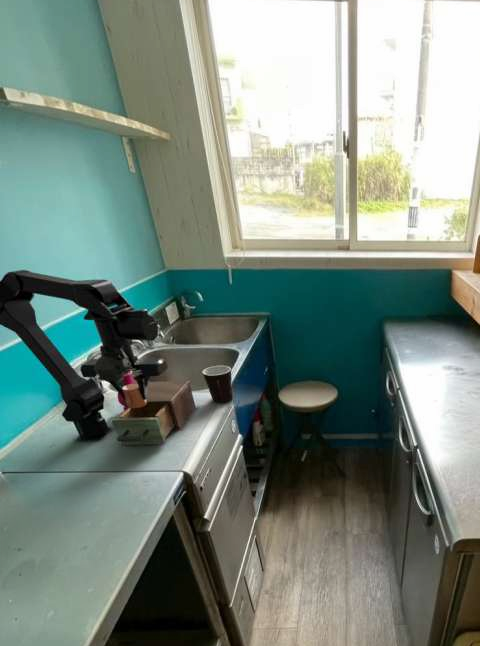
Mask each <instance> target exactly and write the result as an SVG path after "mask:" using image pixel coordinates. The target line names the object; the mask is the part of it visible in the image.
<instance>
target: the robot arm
mask: <svg viewBox="0 0 480 646" xmlns="http://www.w3.org/2000/svg"><path fill="white" fill-rule="evenodd" d="M35 295H40V296H45V297H52V298H56V299H62V300H65V301H66V300H67V301H70V302H73V303H74V304H75V305H76V306H78V307H80V308H82V309H85V310H87V312H86V314H85V315H84V316H83V320H85V321H93V323H94V326H95V328H96V331H97V334H98V336H99V339H100V342H101V346H99V351H100V357H98V358H91V359H89V360H88V361H85V362H84V363H82V364H81V365H80V369H79V370H80V373H81V375H79V374H78V372H77V371H76V369H74V368H73V366H72V365H71V364H70V363H69V361H68V360H67V359H66V358H65V357H64V355H63V354H62V353H61V352H60V350H59V349H58V348H57V346H56V345H55V344H54V343H53V342H52V340H51V339H50V338H49V336H48V335H47V334H46V333H45V332H44V330H43V329H42V327H41V326H40V325H39V324H38V322H37V317H36V316H37V315H36V310H35V308H34V306H33V305H32V304H31V302H32V301H33V300H34V298H35ZM0 326H2V327H4V328H6V329H8V330H10V331H11V332H13V333H14V334H16V335H17V336H18V337H19V339H20V340H21V341H22V342H23V344H24V345H25V346H26V347H27V348H28V349H29V350H30V352H31V353H32V354H33V355H34V356H35V358H36V360H38V361H39V363H40V364H41V365H42V366H43V367H44V368H45V370H46V371H47V372H48V373H49V374H50V376H51V377H52V378H53V380H55V382H56V383H57V384H58V385H59V388H60V395H61V398H62V400H63V401H64V403H65V405H66V406H65V408H64V409H63V411H62V412H61V416H62V417H63V418H64V420H65V421H66V422H69V423H70V422H71V423H73V425H74V427H75V429H76V432H77V434H78V436H77V437H76V438H75V439H76V440H77V441H100V440H102V438H104V437H105V435H107V433H109V432H110V431H111V430H112V427H110V426H108V423H107V421H106V419H105V417H103V415H102V413H101V411H103V410H104V408H105V407H104V406H105V405H104V403H105V395H104V394H103V390H102V388H100V386H98V384H97V382H96V380H94V379H93V378H95V377H97V376H98V380H100V381H105V382H107V383H109V384H110V385H111V386H112V387H113V388H114V389H115V391H116V392H117V393H118V392H119V394H120V395H121V396H122V397H123V398H124V399H125V396H124V393H123V390H122V387H124V386H126V385H125V382H124V378H123V375H122V373H128V371H132V372H136V375H135V376H134V377H133V380H134V381H135V382H137V383H136V384H138V386H139V389H140V392H141V395H142V398H143V400H145V399H146V398H147V392H148V385H149V382H150V379H151V377H159V376H161V375H162V374H163V373H164V372H166V371H167V369H168V368H169V367H168V364H167V361H166V360H165V359H164V358H162V357H148V358H147V359H146V360H144V361H143V362H137V361H139V357H138V356H137V355H135V354H134V351H133V348H132V345H134V341H148V342H151V341H155V340H156V339H158V334H159V326H158V322H157V321H156V320H155V318H154V317H153V316H152V315H150V314H149V312H148V309H146V308H140V309H135V308H134V306H133V305H132V304H131V303H130V302H129V301H128V300H127V299H126V298H125V297H124V296H123V295H122V293H121V292H120V291H118V289H117V288H116V287H115V285H114V284H113V283H112V282H111V281H110V280H107V279H83V280H82V279H81V280H76V279H75V280H74V279H68V278H64V277H58V276H54V275H48V274H43V273H38V272H32V271H30V270H27V269H17V270H13V271H8V272H6V273H5V274H4V276H3V277H2V279H1V280H0ZM86 378H88V379H86ZM125 400H126V399H125Z"/></svg>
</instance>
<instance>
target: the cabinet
mask: <svg viewBox="0 0 480 646" xmlns="http://www.w3.org/2000/svg"><path fill="white" fill-rule="evenodd" d="M146 402H147V404H169V405H170V408H171V411H172V415H173V418H174V421H175V424H176V425H175V426H174V427H173V429H172V430H171V431H180V430H182V428H183V427H184V426H185V424H186V423H187V421H188V419H189V418H190V417H191V416H192V414H193V413H194V412H195V411H196V409H197V407H196V402H195V400H194V395H193V391H192V387H191V383H190V381H189V380H182V381H181V380H175V381H173V380H171V381H170V380H169V381H167V380H166V381H165V380H164V381H149V385H148V392H147V398H146ZM125 403H126V406H127V409H128V408H129V407H128V404H127V401H125Z"/></svg>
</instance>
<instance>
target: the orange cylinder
mask: <svg viewBox="0 0 480 646" xmlns="http://www.w3.org/2000/svg"><path fill="white" fill-rule="evenodd" d="M122 390H123V393H124V396H125V399H126V401H127V404H128V407H129V408H140V407H143V406H145V405H146V404H147V402H146V399H145V400H143V398H142V395H141V392H140V389H139V386H138V383H135V384H129V385H126V386H124V387H122Z"/></svg>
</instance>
